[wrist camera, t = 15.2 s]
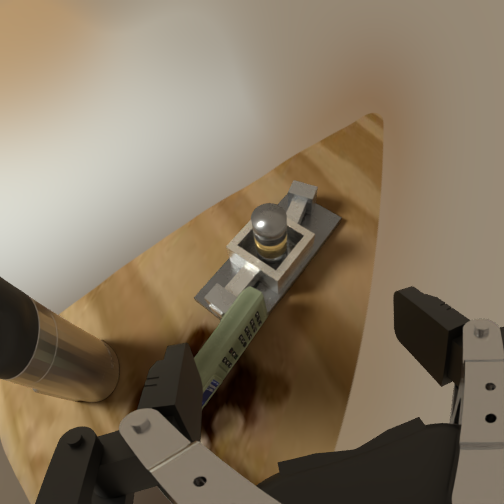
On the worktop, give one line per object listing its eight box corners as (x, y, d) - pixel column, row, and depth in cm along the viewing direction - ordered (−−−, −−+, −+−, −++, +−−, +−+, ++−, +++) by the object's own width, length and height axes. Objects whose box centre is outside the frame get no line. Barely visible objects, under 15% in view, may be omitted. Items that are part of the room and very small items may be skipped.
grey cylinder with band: (268, 274, 43) (263, 238, 35) (252, 252, 45) (244, 214, 37) (292, 259, 44) (293, 221, 36) (276, 238, 46) (273, 198, 38)
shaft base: (247, 340, 40) (243, 330, 36) (195, 300, 43) (185, 285, 39) (340, 220, 47) (345, 200, 43) (291, 193, 51) (291, 171, 46)
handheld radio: (272, 316, 42) (160, 468, 33) (252, 304, 43) (141, 452, 34) (268, 295, 36) (136, 472, 27) (244, 282, 37) (115, 452, 28)
